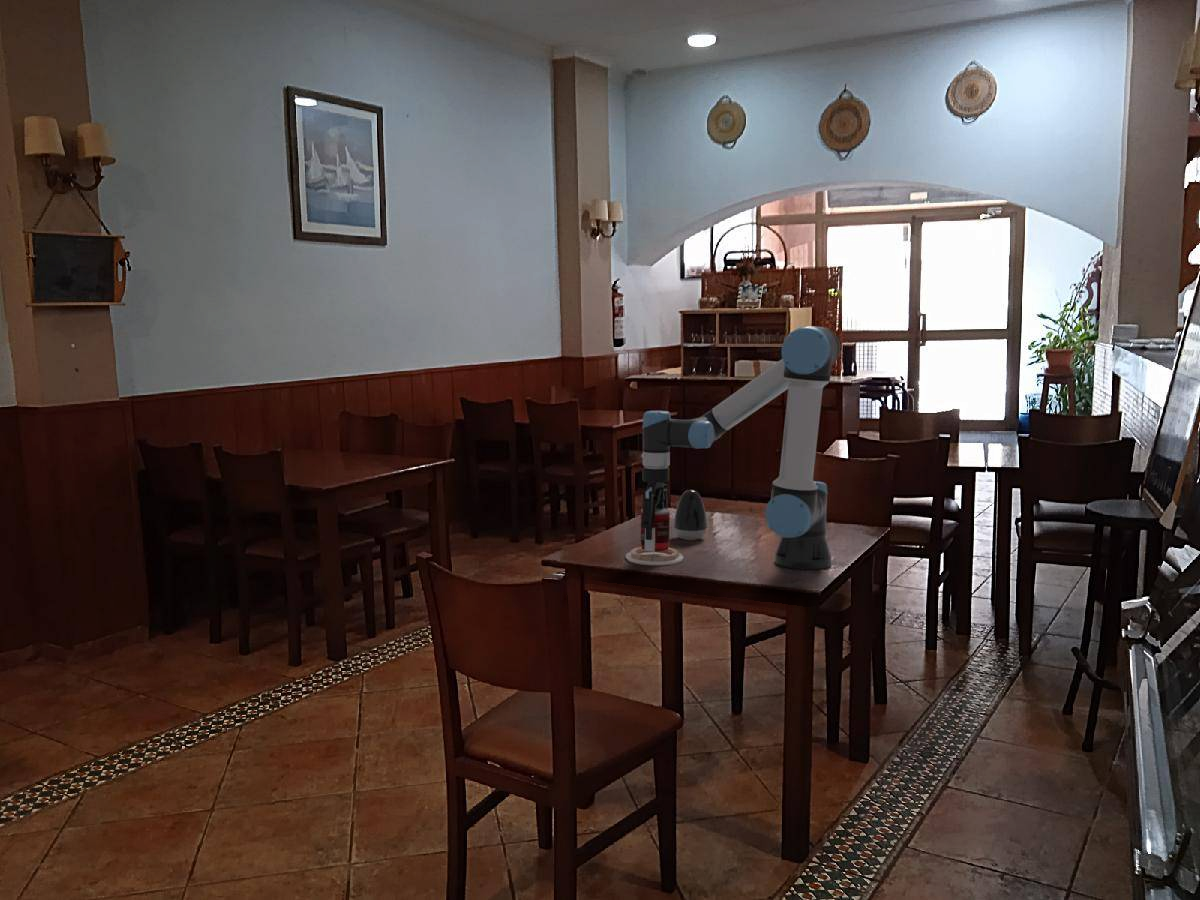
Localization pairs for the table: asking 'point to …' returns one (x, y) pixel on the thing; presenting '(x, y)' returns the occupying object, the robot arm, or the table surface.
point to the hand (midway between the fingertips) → (654, 547)
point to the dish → (654, 557)
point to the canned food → (659, 530)
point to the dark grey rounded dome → (690, 516)
